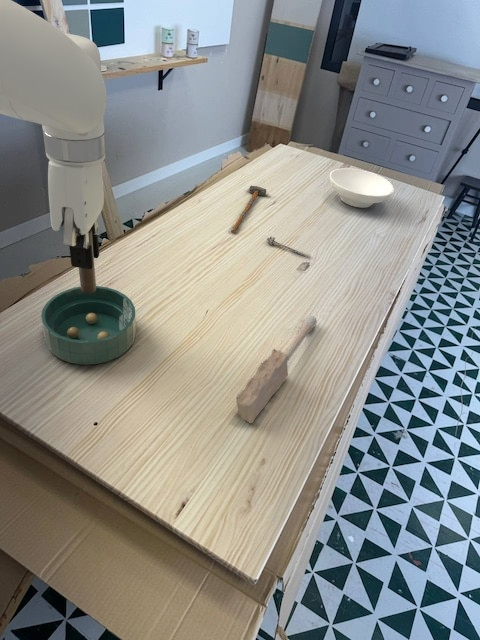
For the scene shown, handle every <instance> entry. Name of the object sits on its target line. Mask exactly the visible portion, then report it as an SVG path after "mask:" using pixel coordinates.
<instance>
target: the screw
mask: <svg viewBox="0 0 480 640" xmlns="http://www.w3.org/2000/svg"><path fill="white" fill-rule="evenodd" d="M275 239H276V237H274V236H271V235H270V237H267V238H266V241H267V244H269V245H270V246H271V245H273V244H277V245H278V246H281V247H283V248H285V249H288V250H290V251H292V252H294V253H297V254H299V255H301V256H303V257H306V258H309V255H308V254H305V253H303V252H301V251H298V250H296V249H294V248H291V247H289V246H287V245H285V244H282V243H280V242H278V241H275Z"/></svg>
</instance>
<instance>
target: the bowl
mask: <svg viewBox="0 0 480 640" xmlns="http://www.w3.org/2000/svg"><path fill="white" fill-rule="evenodd" d="M329 183H330V185H331V187H332V189H333V190H334V191H335V192H336V193H337V194H338V195H339V198H340V200H341V201H342V202H343V203H345V204H347V205H348V206H351V207H355V208H363V209H364V208H369V207H371V206H372V205H374V204H378V203H382V202H385V201H386V200H387V199H389V198H390V197H391V196H392V195H393V193H394V191H395V186H394V185H393V184H392V182H390V181H389V180H388V179H386V178H385V177H383V176H382V175H380V174H378V173H377V174H376V173H374V172H372V171H368V170H365V169H360V168H354V167H353V168H352V167H341V168H336V169H333V170H331V171H330V172H329Z"/></svg>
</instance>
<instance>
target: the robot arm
mask: <svg viewBox="0 0 480 640" xmlns="http://www.w3.org/2000/svg"><path fill="white" fill-rule="evenodd" d="M107 103H108V92H107V86H106V82H105V80H104V77H103V74H102V61H101V53H100V50H99V48H98V46H97V44H96V43H95V42H94V41H92V40H91V39H90V38H87V37H85V36H81V35H77V34H72V33H66V32H65V33H64V32H63V31H62V30H61V29H59V28H58V27H56V26H55V25H54V24H52V23H51V22H49V21H47V20H46V19H45V18H43V17H41V16H40V15H38V14H36V13H34V12H33V11H31V10H29V9H28V8H26V7H24V6H23V5H20V4H19V3H17V2H16V1H14V0H0V115H3V116H7V117H10V118H14V119H17V120H20V121H21V120H22V121H25V122H28V123H29V122H31V123H35V124H38V125H41V127H42V134H43V136H42V137H43V142H44V143H43V144H44V150H45V156H46V158H47V159H48V160H49V161H48V168H47V190H48V192H47V193H48V205H49V215H50V225H51V229H52V230H53V231H54V232H59V231H60V230H61V229H62V227H63V236H62V244H63V246H67V247H68V248H69V256H70V265H71V267H73V268H78V269H79V268H85V269H92V268H93V256H92V246H91V245H89V233H88V231H89V230H90V229H92V239H93V252H94V259H98V258H99V257H100V245H99V243H100V242H99V234H98V232H99V224H98V223H99V222H98V218H99V216H100V215H101V213H102V211H103V209H104V204H105V186H104V175H103V164H102V162H103V161H104V160H105V159H106V143H105V141H106V140H105V121H104V120H105V119H104V116H105V113H106V110H107ZM75 233H80V234H81V235H82V237H80V236H75Z"/></svg>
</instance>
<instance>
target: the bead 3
mask: <svg viewBox="0 0 480 640" xmlns="http://www.w3.org/2000/svg"><path fill="white" fill-rule="evenodd" d="M106 337H109V334H108V333H107V332H105V331H102V332H100V333H99V334H98V337H97V338H98V339H102V338H106Z"/></svg>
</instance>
